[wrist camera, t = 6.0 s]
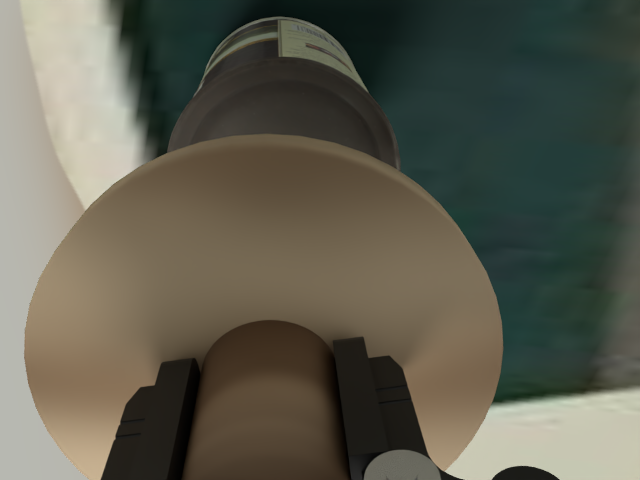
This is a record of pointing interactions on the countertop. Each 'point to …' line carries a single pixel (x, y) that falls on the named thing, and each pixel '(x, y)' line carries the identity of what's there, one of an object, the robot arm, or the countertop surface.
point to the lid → (261, 306)
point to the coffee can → (285, 92)
